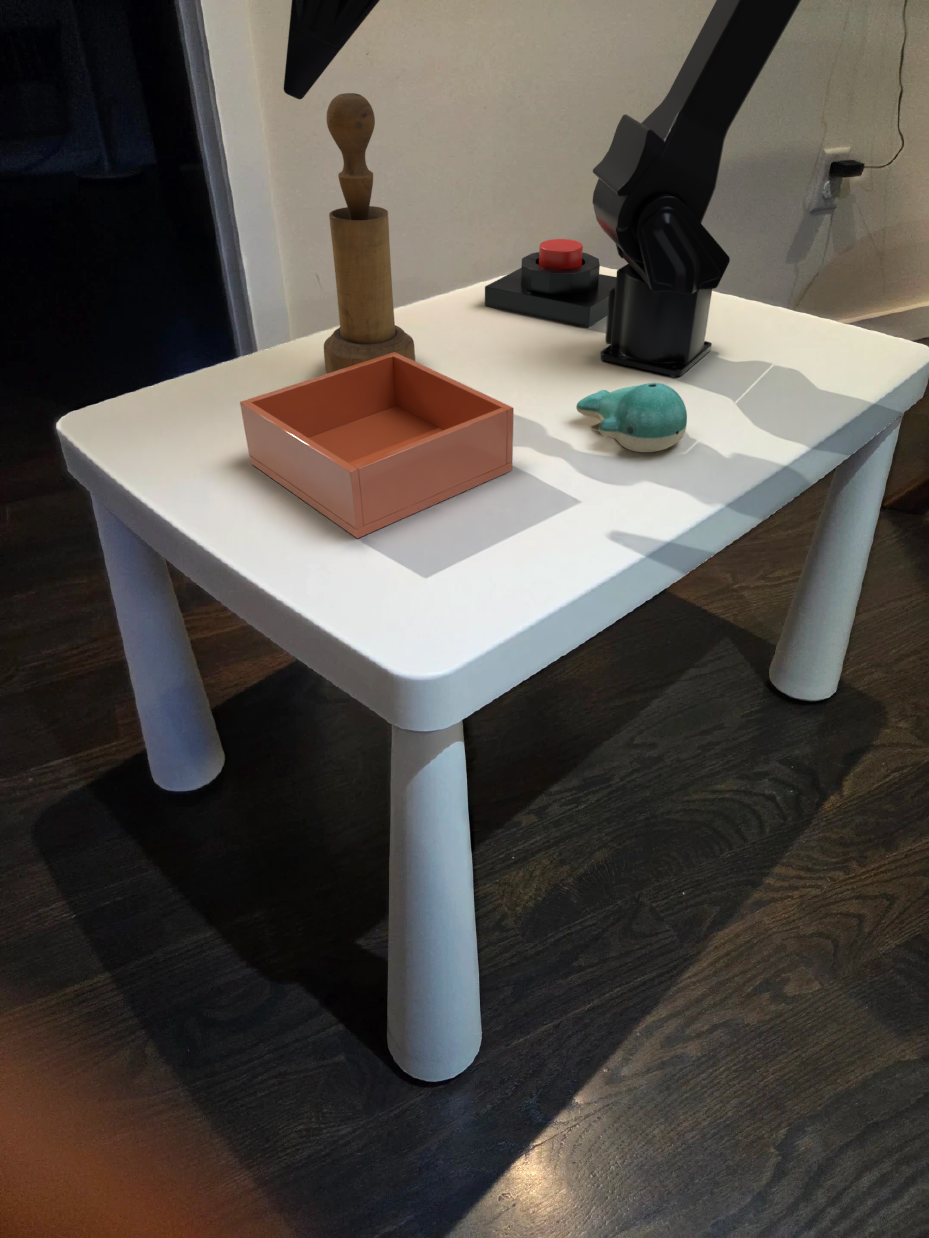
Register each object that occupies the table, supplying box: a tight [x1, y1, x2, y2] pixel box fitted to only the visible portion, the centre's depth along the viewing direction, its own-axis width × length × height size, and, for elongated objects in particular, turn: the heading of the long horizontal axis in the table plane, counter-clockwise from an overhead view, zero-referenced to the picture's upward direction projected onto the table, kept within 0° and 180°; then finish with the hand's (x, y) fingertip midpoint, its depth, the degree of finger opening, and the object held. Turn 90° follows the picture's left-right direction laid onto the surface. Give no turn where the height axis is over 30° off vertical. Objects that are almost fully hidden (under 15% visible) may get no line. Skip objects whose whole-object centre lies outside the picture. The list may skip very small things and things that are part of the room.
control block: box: [484, 251, 616, 329], centre depth 78 cm, size 10×8×4 cm
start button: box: [538, 238, 584, 269], centre depth 76 cm, size 4×4×2 cm
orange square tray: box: [239, 352, 515, 539], centre depth 55 cm, size 12×12×4 cm
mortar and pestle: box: [323, 92, 416, 374], centre depth 62 cm, size 7×6×18 cm
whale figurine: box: [575, 382, 688, 453], centre depth 58 cm, size 6×7×4 cm
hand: (294, 83), depth 55 cm, fingers open, 9 cm apart
